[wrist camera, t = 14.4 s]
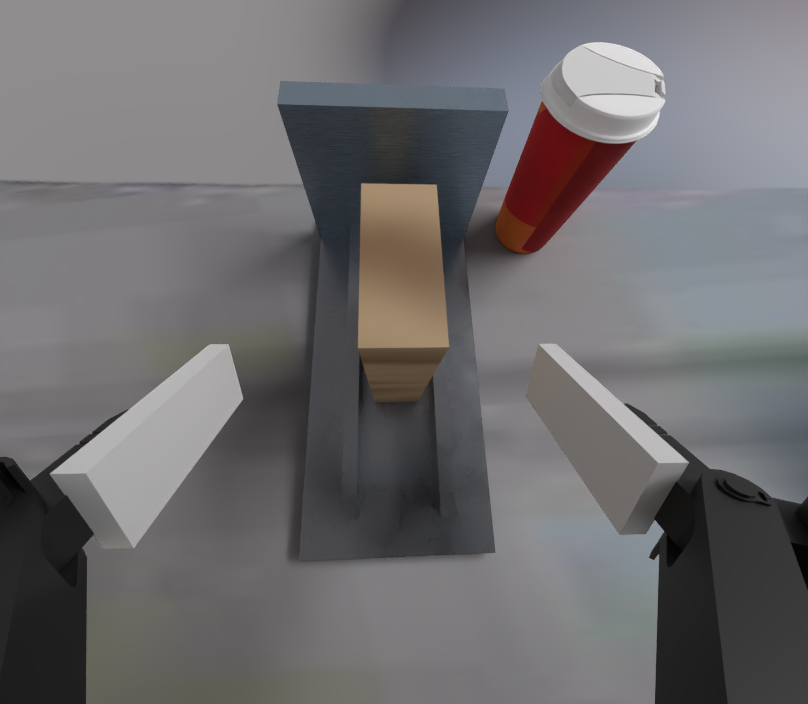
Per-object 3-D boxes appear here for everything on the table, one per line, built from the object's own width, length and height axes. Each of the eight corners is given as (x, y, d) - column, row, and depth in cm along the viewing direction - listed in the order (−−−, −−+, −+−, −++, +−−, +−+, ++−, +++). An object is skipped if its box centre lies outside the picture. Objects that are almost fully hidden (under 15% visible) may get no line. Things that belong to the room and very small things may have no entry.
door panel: (417, 401, 25) (449, 347, 12) (374, 402, 25) (357, 348, 12) (413, 312, 28) (436, 184, 14) (375, 313, 27) (361, 183, 14)
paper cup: (559, 210, 33) (673, 50, 20) (554, 270, 31) (680, 133, 17) (488, 195, 33) (555, 26, 20) (478, 253, 31) (545, 105, 18)
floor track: (490, 548, 23) (609, 663, 11) (302, 556, 22) (193, 690, 10) (458, 221, 32) (502, 78, 20) (324, 219, 31) (282, 70, 19)
